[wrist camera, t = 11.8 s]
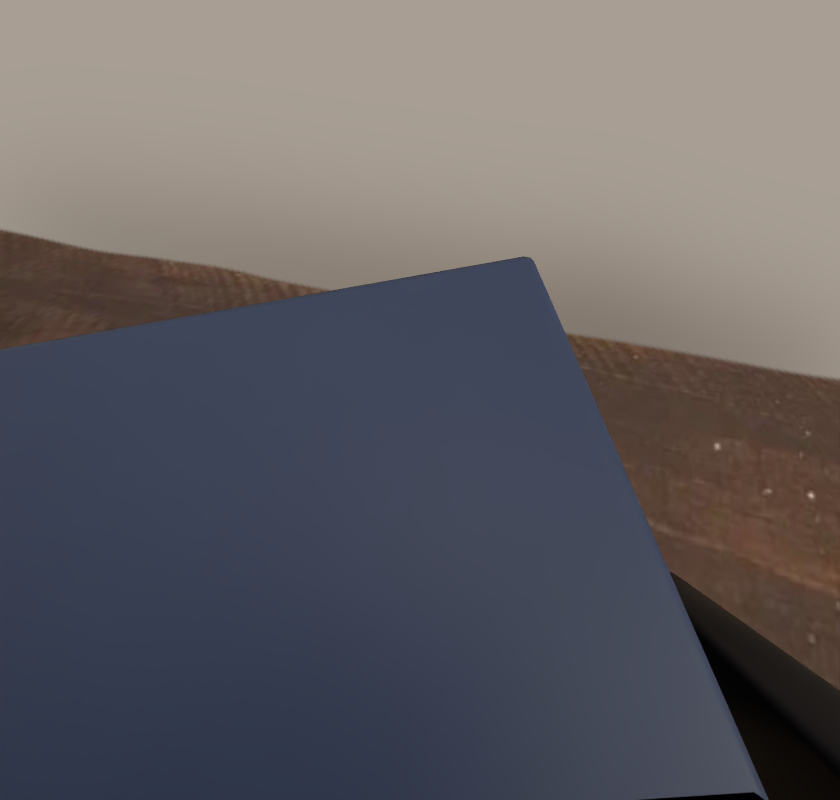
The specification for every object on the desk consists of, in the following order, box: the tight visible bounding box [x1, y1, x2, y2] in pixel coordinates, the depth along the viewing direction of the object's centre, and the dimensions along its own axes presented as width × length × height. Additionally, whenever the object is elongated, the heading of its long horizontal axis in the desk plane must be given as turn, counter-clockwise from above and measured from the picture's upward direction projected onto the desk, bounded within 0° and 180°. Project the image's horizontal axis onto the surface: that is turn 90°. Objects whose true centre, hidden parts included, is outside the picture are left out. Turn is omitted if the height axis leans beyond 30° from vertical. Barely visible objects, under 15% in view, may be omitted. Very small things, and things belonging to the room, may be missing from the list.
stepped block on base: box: [0, 257, 769, 800], centre depth 8 cm, size 10×5×10 cm, turn 12°
